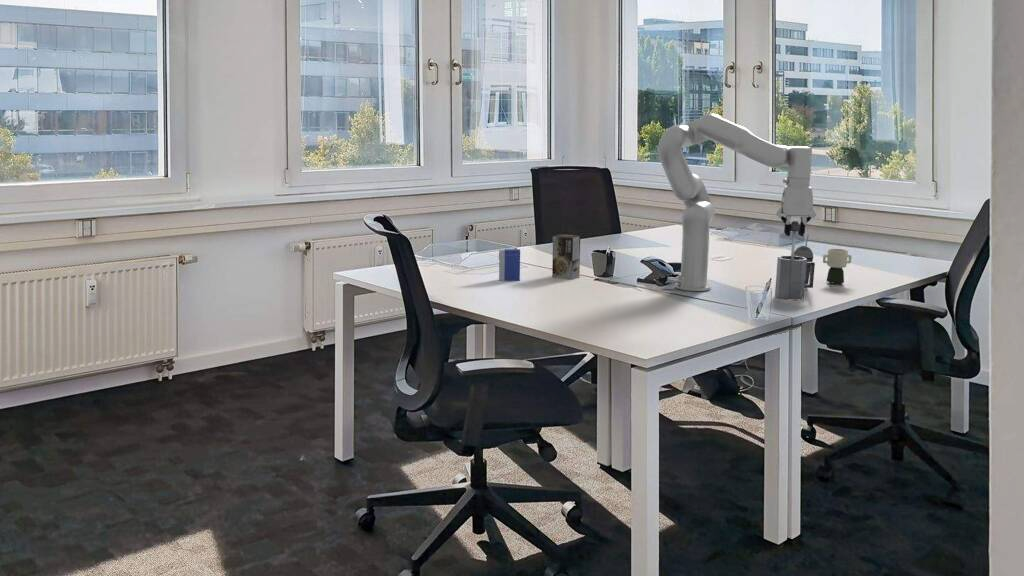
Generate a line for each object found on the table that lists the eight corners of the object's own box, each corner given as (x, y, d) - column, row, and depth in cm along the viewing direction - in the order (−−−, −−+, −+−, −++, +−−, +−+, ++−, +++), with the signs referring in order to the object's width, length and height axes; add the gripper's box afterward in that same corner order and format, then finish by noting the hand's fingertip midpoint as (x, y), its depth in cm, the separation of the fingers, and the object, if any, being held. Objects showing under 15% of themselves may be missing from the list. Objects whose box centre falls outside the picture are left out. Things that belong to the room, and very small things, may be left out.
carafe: (780, 299, 318) (783, 260, 315) (772, 294, 327) (774, 255, 325) (816, 300, 319) (819, 260, 316) (806, 294, 328) (809, 255, 325)
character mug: (845, 281, 352) (848, 248, 350) (852, 285, 345) (855, 251, 343) (817, 281, 352) (820, 248, 349) (824, 285, 345) (827, 251, 342)
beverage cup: (795, 284, 345) (799, 232, 341) (814, 287, 340) (818, 234, 336) (787, 287, 339) (791, 234, 335) (806, 290, 335) (810, 236, 331)
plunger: (784, 278, 318) (789, 221, 314) (779, 275, 324) (783, 219, 320) (803, 278, 318) (807, 221, 314) (796, 275, 325) (801, 219, 321)
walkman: (519, 279, 347) (519, 248, 345) (519, 280, 345) (520, 249, 342) (498, 279, 347) (498, 248, 344) (498, 280, 344) (499, 249, 342)
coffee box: (580, 277, 354) (581, 235, 350) (572, 279, 348) (573, 237, 345) (559, 274, 358) (560, 233, 355) (551, 277, 353) (552, 235, 350)
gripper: (777, 183, 311) (773, 236, 315) (826, 184, 312) (821, 237, 315) (770, 181, 318) (767, 233, 322) (818, 182, 319) (814, 234, 323)
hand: (794, 234), depth 318 cm, fingers closed on plunger, 4 cm apart
